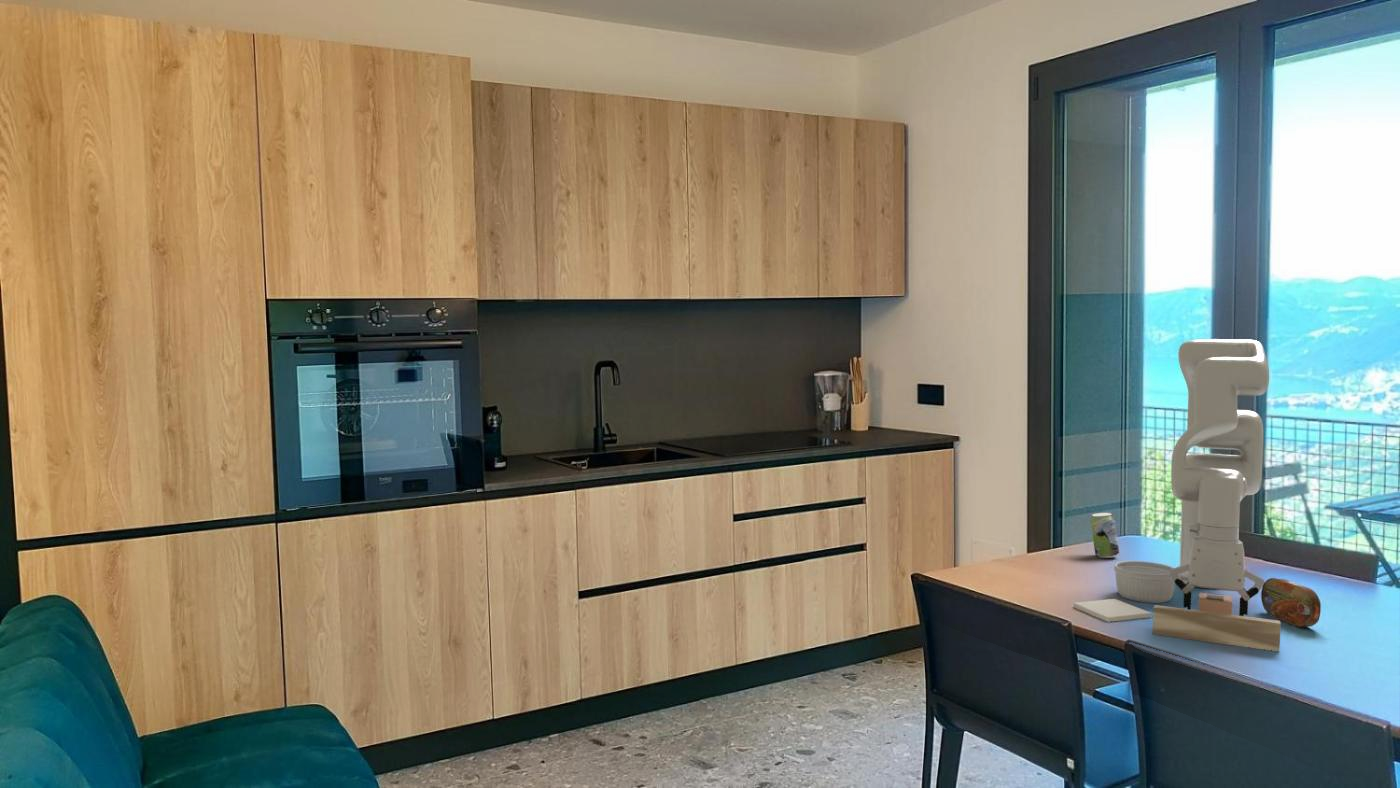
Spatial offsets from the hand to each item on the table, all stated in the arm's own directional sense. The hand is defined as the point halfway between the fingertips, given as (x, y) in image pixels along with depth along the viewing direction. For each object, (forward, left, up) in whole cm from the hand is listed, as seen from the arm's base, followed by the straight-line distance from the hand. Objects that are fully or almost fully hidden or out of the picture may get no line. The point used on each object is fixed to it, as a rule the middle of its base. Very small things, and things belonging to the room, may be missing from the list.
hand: (1214, 614), depth 197 cm
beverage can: (-19, -56, -3) cm, 60 cm away
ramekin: (-2, -22, -3) cm, 23 cm away
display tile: (+14, -14, -3) cm, 20 cm away
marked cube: (0, 0, -3) cm, 3 cm away
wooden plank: (+8, +8, -3) cm, 11 cm away
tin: (-18, +2, -3) cm, 19 cm away
